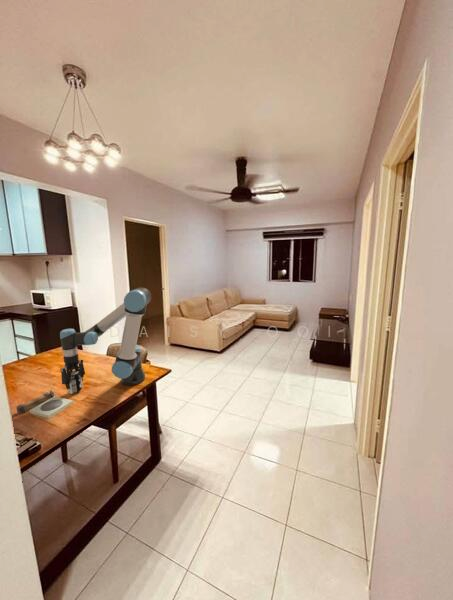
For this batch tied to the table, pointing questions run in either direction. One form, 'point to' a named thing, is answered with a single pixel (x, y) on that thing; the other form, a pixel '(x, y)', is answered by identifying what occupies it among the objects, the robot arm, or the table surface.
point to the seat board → (51, 407)
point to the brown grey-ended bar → (33, 403)
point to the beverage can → (75, 381)
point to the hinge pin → (52, 393)
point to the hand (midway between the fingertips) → (75, 389)
